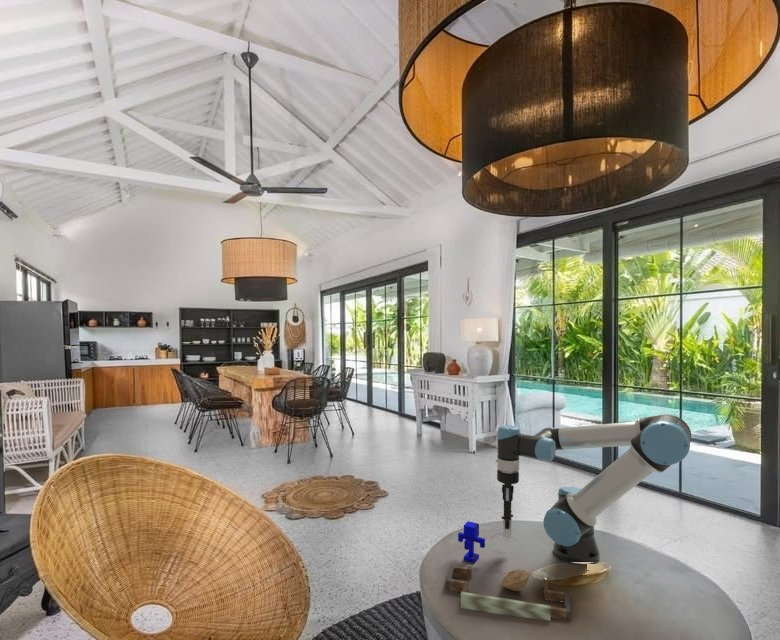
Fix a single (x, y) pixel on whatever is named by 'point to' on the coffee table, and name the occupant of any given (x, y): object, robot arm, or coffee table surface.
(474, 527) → the figurine
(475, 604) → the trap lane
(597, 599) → the coffee table surface
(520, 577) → the pottery oil lamp
